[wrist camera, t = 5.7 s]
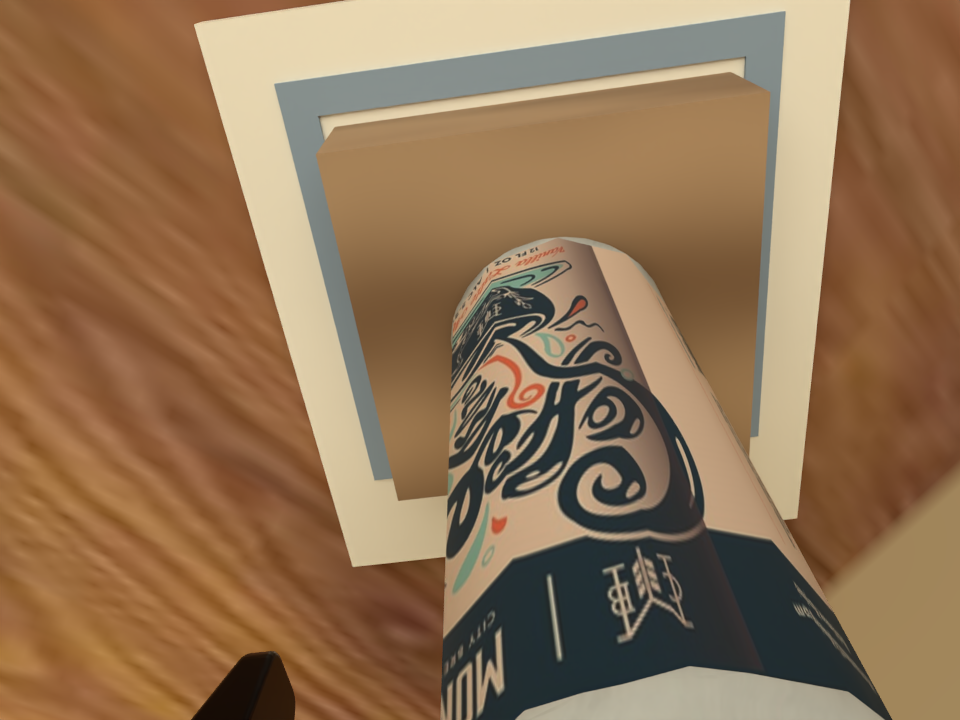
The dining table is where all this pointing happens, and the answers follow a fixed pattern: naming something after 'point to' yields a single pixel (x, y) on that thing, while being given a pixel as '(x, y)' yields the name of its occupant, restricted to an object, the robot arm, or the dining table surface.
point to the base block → (547, 230)
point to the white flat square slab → (496, 80)
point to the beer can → (615, 519)
